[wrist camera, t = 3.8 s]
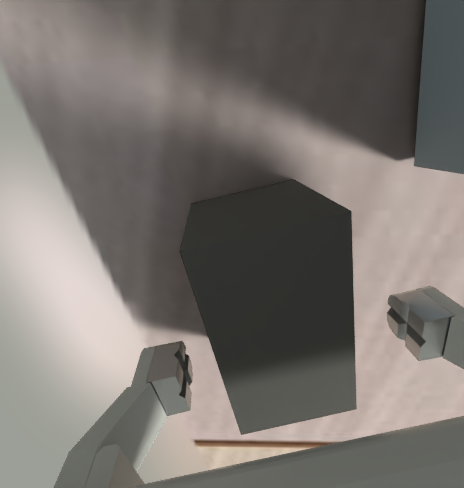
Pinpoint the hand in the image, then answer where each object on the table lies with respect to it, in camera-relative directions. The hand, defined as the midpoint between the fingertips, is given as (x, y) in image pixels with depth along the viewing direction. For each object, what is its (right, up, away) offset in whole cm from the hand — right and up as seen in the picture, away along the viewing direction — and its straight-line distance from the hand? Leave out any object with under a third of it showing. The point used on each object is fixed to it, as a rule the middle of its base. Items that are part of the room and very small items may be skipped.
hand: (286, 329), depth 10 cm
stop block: (-1, +2, +3) cm, 4 cm away
